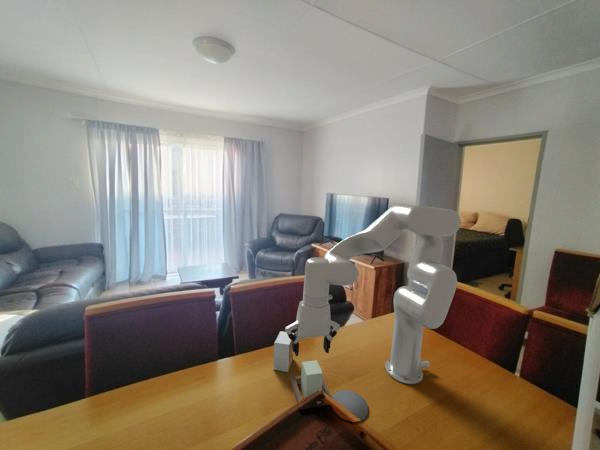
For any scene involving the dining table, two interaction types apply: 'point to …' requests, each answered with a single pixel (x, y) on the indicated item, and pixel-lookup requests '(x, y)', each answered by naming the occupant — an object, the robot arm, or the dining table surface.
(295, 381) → the frame
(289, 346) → the small box
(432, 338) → the dining table surface
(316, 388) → the sage block
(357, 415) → the coaster
